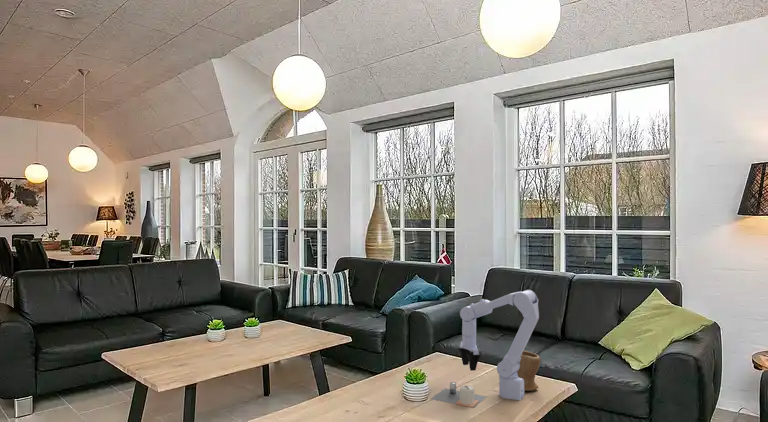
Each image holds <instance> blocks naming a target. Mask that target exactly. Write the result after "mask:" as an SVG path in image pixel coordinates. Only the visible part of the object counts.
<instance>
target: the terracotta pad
mask: <svg viewBox="0 0 768 422" xmlns="http://www.w3.org/2000/svg"><path fill="white" fill-rule="evenodd" d="M477 403H479V401H477V400H474V403H473V404H470V405H466V404H462V403H461V402H460V400H459V401H457V402H456V403H455V404H454V405H456V404H457V405H456V406H461V405H462V407H466V406H467V408H471V409H474V408H473V407H474V406H475V405H476V404H477ZM479 404H480V403H479Z"/></svg>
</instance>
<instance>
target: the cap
mask: <svg viewBox="0 0 768 422" xmlns="http://www.w3.org/2000/svg"><path fill="white" fill-rule="evenodd" d="M459 391H460V402H461V403H462V404H466V405H470V404H473V403H474V394H475V388H474V387H473V386H471V385H462V386H460V389H459Z"/></svg>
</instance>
